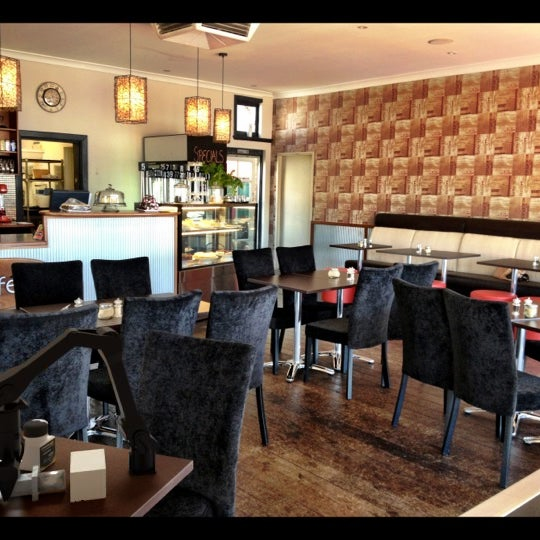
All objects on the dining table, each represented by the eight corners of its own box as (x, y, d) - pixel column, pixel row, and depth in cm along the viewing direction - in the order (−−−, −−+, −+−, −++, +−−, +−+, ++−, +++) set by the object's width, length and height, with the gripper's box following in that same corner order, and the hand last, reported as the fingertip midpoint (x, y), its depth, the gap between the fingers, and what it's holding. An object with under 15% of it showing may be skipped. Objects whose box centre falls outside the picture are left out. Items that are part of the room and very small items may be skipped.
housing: (104, 475, 149) (103, 448, 149) (105, 497, 138) (105, 468, 137) (71, 479, 147) (71, 452, 146) (70, 502, 136) (70, 472, 135)
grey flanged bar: (65, 485, 144) (64, 462, 143) (64, 496, 138) (64, 472, 137) (7, 492, 140) (6, 469, 139) (4, 505, 134) (3, 480, 133)
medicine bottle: (40, 472, 150) (39, 428, 149) (16, 469, 152) (15, 425, 151) (55, 461, 157) (55, 418, 156) (32, 458, 159) (31, 415, 158)
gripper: (-25, 417, 142) (-23, 478, 143) (-40, 447, 124) (-37, 517, 125) (24, 413, 145) (26, 473, 147) (17, 442, 127) (18, 510, 129)
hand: (8, 492), depth 137 cm, fingers open, 9 cm apart
